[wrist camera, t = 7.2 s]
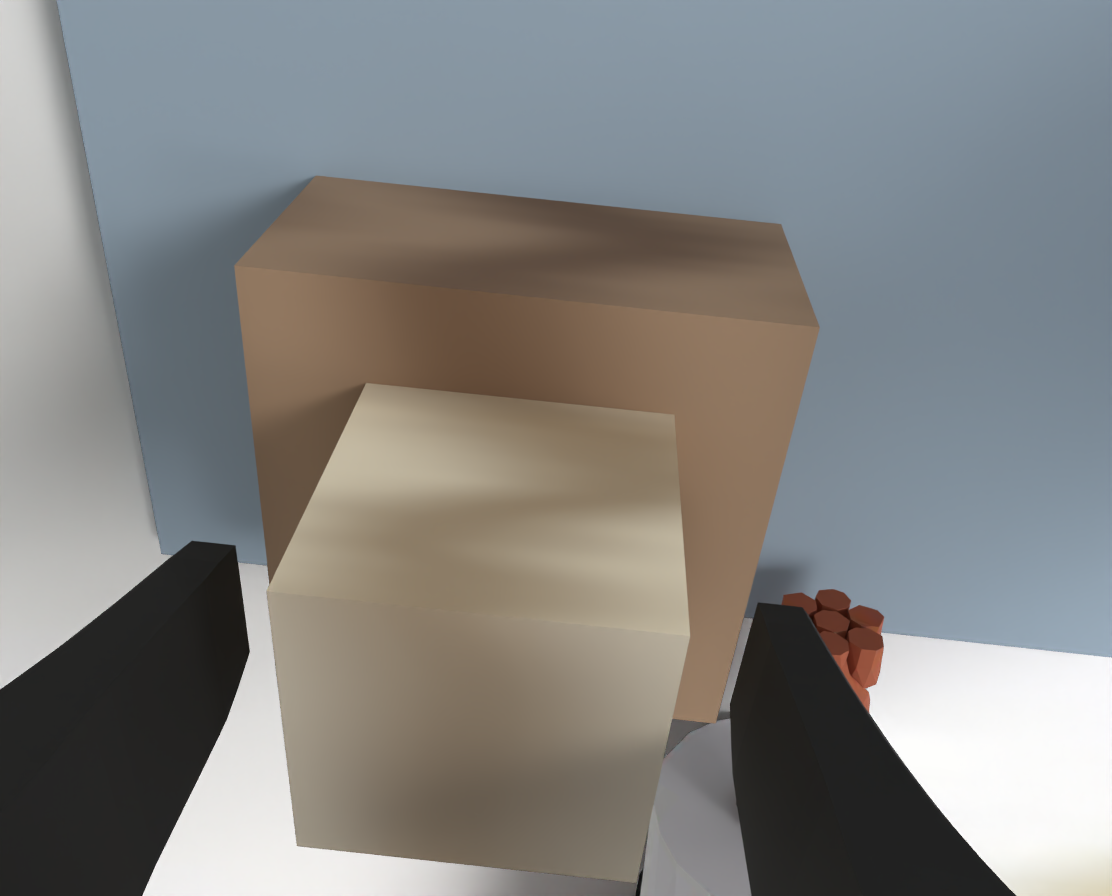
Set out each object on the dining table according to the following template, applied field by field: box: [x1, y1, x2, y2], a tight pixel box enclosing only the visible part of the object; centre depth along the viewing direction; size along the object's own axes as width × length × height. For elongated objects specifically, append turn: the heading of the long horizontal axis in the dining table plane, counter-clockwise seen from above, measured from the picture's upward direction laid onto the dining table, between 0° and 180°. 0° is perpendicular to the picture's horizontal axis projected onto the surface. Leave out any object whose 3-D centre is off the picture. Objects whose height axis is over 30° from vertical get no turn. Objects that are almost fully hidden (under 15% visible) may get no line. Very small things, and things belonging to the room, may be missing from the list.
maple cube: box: [267, 383, 690, 883], centre depth 13 cm, size 4×4×4 cm
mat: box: [57, 0, 1112, 657], centre depth 16 cm, size 22×20×1 cm
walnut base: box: [234, 176, 820, 724], centre depth 17 cm, size 8×8×4 cm
